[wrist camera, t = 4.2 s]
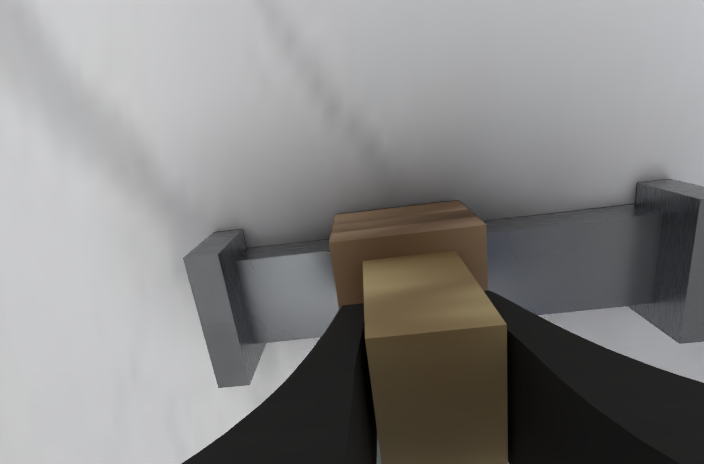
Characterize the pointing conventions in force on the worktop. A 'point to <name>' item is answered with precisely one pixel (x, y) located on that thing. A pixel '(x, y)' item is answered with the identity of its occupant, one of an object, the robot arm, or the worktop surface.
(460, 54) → the worktop surface
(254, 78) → the worktop surface
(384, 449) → the carriage
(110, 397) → the worktop surface
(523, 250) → the rail
